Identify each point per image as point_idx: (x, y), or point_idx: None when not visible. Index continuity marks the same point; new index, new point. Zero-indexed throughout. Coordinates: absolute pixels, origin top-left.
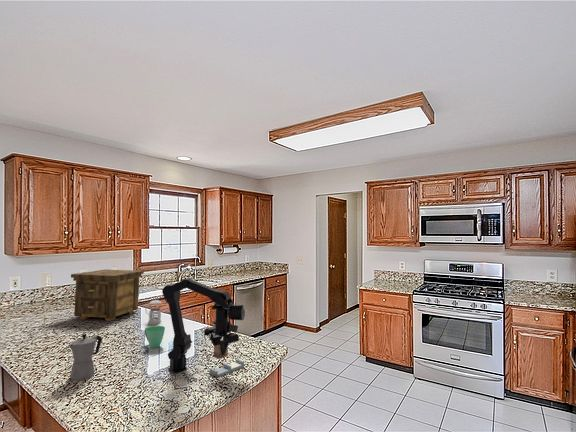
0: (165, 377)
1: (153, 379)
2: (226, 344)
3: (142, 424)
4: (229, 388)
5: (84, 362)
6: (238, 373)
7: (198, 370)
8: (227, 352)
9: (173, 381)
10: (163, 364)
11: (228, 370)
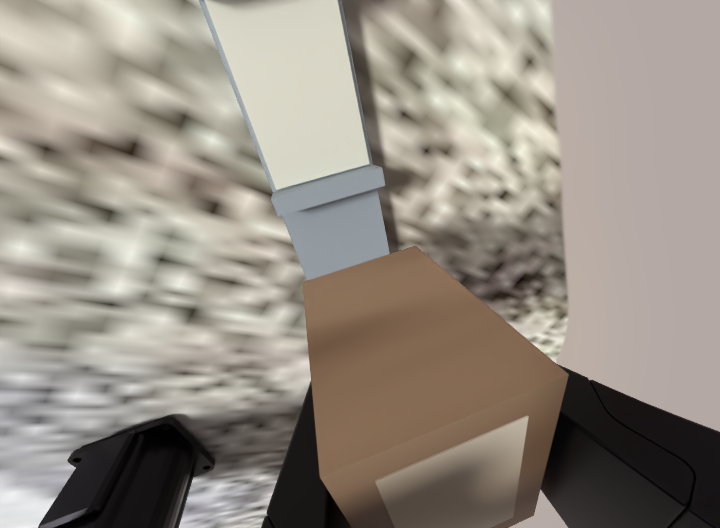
0: (251, 482)
1: (251, 511)
2: (691, 479)
3: None
4: (546, 266)
5: None
6: (431, 121)
7: (220, 361)
8: (444, 272)
9: None
10: (12, 520)
11: (378, 196)
